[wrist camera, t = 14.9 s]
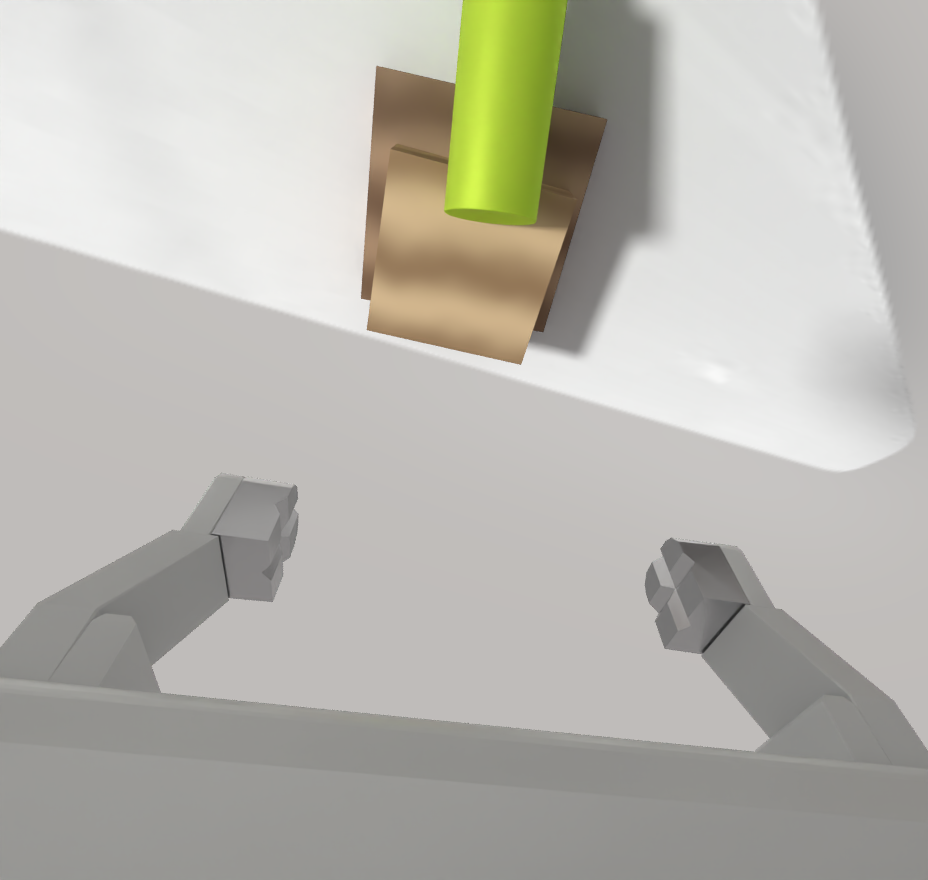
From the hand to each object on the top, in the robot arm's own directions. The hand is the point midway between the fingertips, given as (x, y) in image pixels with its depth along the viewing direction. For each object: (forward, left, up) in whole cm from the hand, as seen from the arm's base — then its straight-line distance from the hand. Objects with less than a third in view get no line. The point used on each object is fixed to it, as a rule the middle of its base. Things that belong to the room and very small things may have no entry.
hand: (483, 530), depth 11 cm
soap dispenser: (-1, +1, -27) cm, 27 cm away
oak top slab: (+3, 0, -33) cm, 33 cm away
